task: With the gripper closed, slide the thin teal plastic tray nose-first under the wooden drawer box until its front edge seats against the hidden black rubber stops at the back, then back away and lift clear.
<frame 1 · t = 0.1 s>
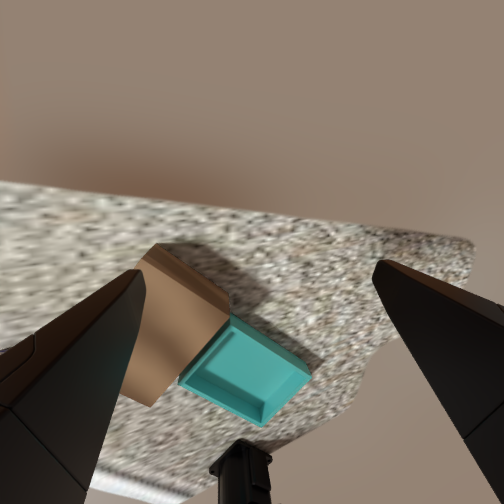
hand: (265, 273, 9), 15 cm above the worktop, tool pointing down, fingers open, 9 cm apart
tray: (245, 364, 29), on the worktop
wooden drawer box: (158, 313, 26), on the worktop
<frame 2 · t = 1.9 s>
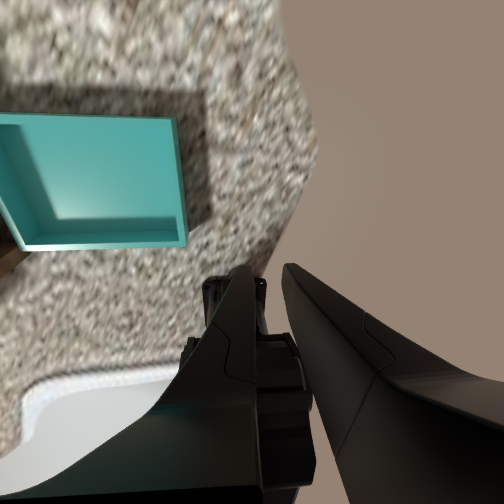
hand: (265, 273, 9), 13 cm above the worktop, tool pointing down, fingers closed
tray: (102, 182, 19), on the worktop
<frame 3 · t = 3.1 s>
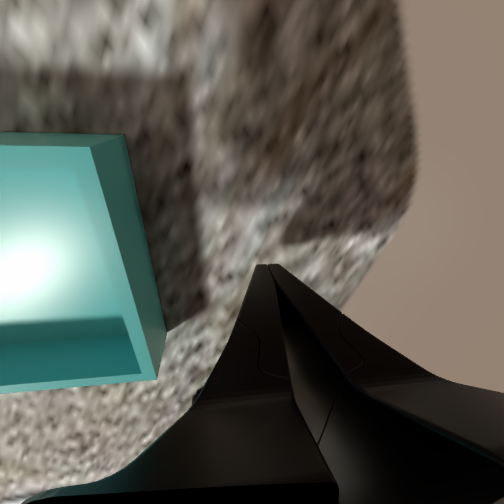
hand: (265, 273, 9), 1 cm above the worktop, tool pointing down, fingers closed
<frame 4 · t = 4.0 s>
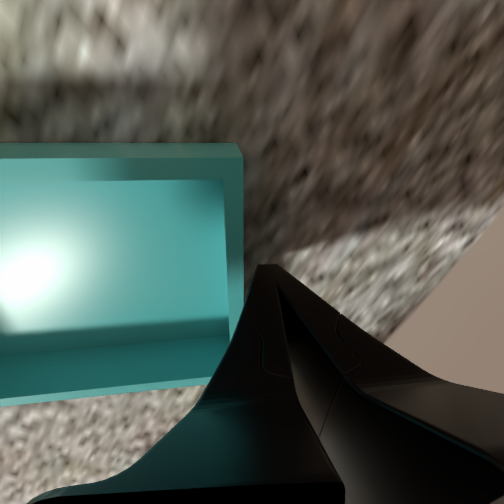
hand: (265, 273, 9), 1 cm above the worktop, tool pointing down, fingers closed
tray: (82, 269, 9), on the worktop, touching gripper
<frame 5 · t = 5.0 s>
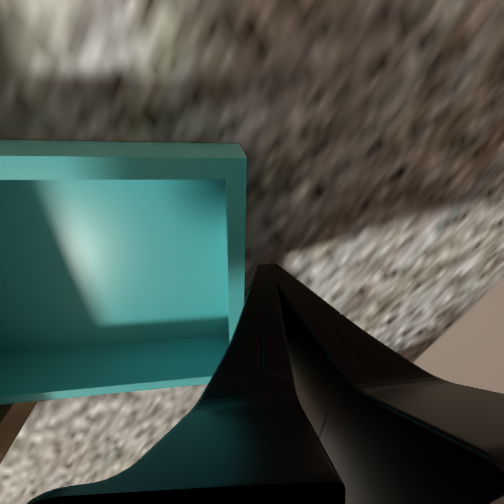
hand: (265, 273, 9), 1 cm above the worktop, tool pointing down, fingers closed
tray: (82, 267, 9), on the worktop, touching gripper
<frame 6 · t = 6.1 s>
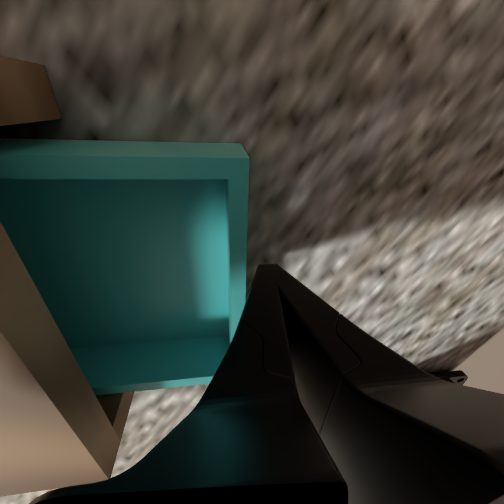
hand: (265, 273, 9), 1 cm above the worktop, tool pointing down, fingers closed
tray: (82, 267, 9), on the worktop, touching gripper
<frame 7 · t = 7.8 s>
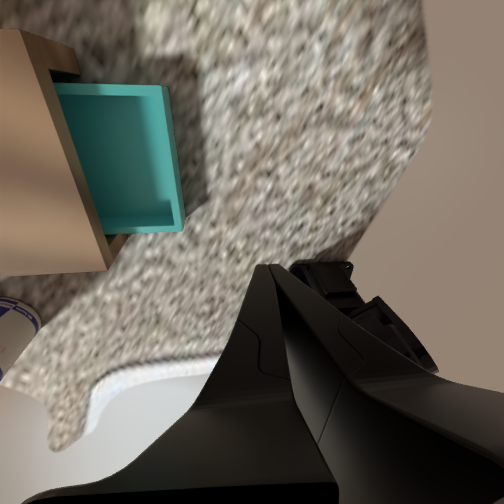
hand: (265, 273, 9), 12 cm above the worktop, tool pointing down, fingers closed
tray: (90, 162, 17), on the worktop
energy drink: (11, 314, 23), on the worktop
wooden drawer box: (36, 162, 17), on the worktop
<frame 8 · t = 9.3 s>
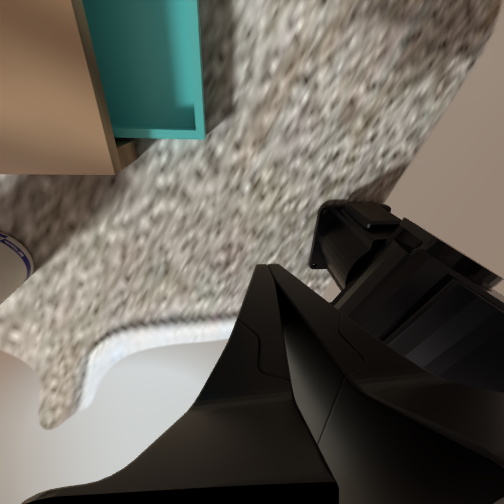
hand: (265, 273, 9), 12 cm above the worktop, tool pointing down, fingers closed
tray: (97, 47, 14), on the worktop
energy drink: (0, 254, 20), on the worktop
wooden drawer box: (31, 42, 14), on the worktop
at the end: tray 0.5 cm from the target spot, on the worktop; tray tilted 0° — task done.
